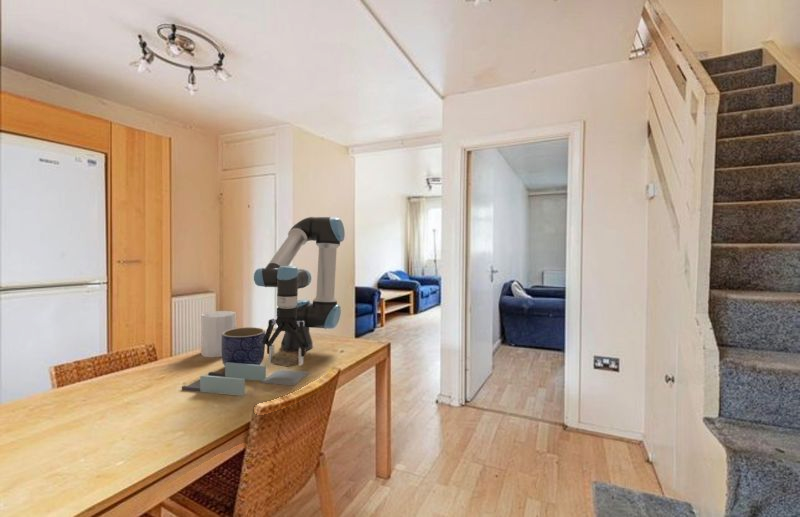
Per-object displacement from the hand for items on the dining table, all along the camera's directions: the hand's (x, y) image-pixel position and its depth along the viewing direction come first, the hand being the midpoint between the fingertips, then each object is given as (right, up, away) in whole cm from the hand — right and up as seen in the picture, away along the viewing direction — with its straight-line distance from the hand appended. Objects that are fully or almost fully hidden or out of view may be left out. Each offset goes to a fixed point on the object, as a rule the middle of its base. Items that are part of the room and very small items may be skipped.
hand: (286, 363), depth 142 cm
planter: (-21, -5, +11) cm, 24 cm away
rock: (0, -1, 0) cm, 1 cm away
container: (-40, -3, +30) cm, 50 cm away
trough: (-20, -5, -8) cm, 22 cm away
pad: (0, -6, 0) cm, 6 cm away
